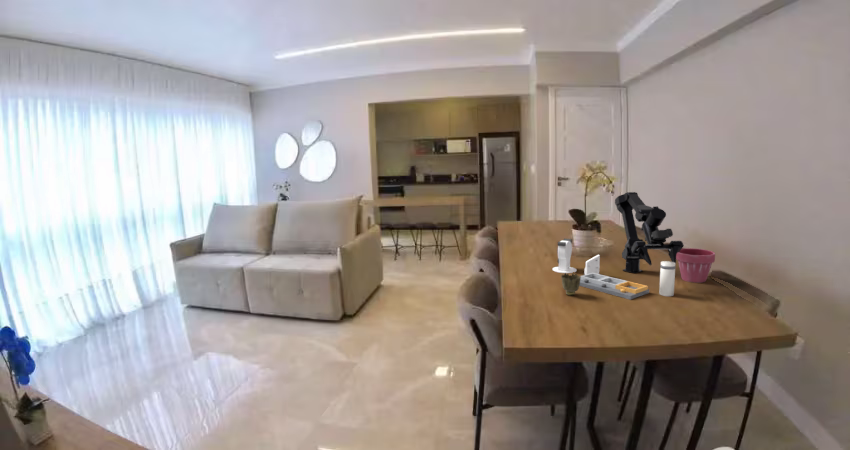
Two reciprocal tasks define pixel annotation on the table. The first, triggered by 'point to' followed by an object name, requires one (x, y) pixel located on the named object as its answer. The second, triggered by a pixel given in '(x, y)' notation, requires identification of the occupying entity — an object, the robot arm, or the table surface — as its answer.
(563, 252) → the white charging stand
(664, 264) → the white bottle
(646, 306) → the table surface
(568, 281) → the cup
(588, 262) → the white wedge bracket
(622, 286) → the board
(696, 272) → the plant pot
